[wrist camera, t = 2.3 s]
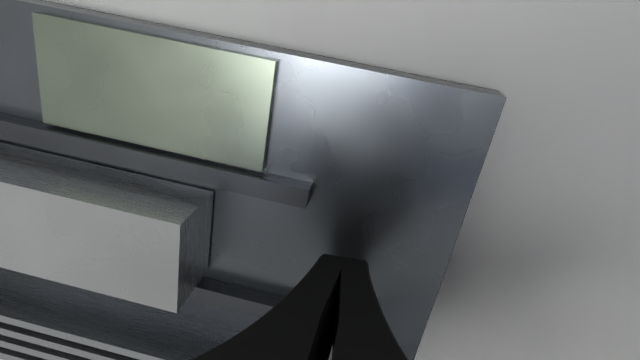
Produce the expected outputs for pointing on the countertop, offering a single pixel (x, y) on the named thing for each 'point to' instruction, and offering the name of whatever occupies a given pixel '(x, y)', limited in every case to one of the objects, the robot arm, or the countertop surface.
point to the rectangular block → (102, 228)
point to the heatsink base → (237, 172)
